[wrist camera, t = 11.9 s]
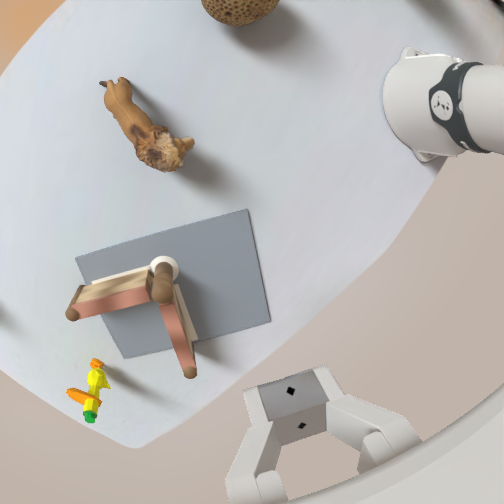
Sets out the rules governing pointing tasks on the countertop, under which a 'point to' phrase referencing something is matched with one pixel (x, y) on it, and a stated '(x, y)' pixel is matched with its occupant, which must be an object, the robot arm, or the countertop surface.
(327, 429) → the robot arm
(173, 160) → the lion figurine
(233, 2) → the natural sponge
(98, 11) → the countertop surface
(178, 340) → the fence panel
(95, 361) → the toy figure
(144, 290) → the fence section
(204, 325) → the board
